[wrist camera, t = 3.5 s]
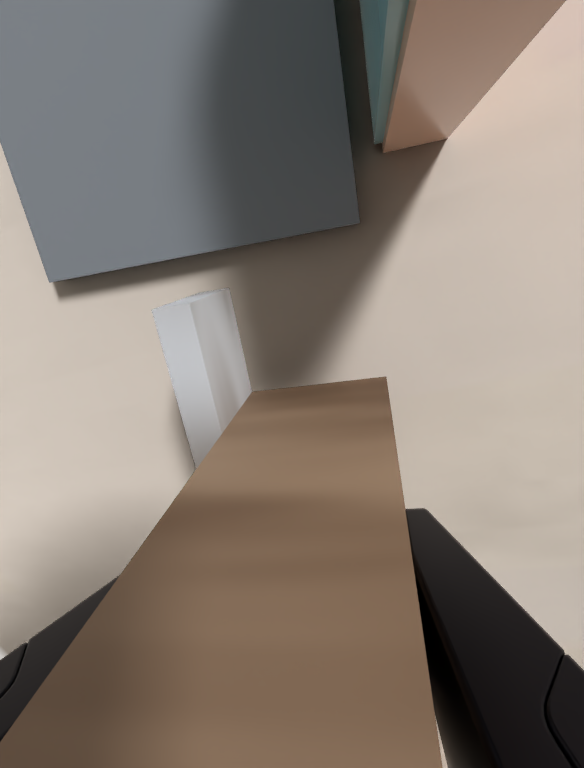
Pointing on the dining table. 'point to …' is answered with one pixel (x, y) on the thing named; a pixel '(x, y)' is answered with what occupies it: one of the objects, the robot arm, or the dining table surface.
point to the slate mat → (172, 126)
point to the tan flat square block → (439, 60)
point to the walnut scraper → (253, 590)
